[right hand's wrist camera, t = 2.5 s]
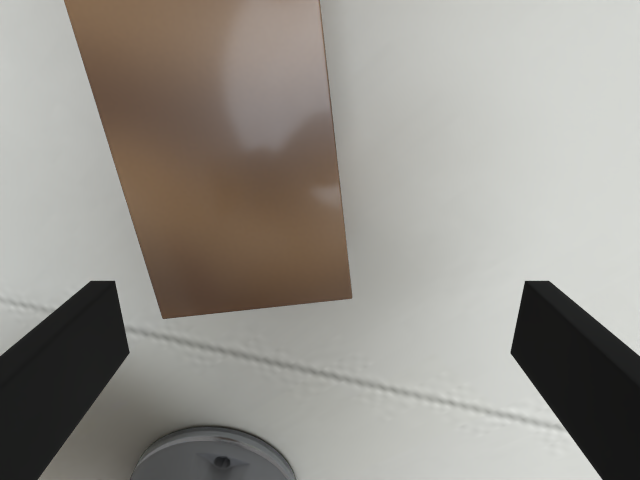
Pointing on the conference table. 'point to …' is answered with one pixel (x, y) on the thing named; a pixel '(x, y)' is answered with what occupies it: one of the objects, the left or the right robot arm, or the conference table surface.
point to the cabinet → (221, 147)
